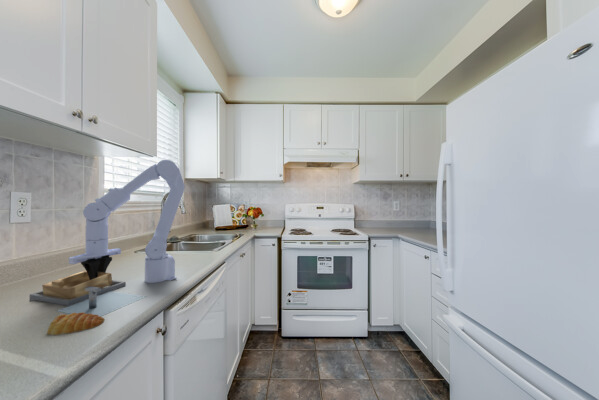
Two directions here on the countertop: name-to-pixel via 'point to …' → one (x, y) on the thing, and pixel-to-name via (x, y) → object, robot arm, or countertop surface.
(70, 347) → the countertop surface
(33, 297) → the tray
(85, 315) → the pastry
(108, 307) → the stake base
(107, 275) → the wooden frame
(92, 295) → the stake post
